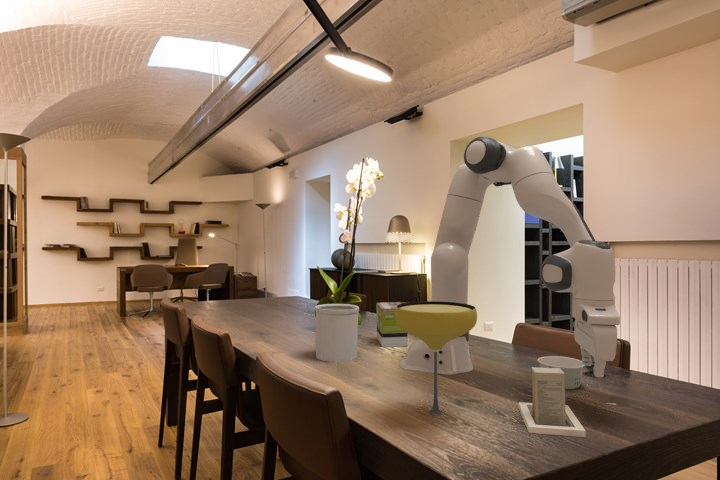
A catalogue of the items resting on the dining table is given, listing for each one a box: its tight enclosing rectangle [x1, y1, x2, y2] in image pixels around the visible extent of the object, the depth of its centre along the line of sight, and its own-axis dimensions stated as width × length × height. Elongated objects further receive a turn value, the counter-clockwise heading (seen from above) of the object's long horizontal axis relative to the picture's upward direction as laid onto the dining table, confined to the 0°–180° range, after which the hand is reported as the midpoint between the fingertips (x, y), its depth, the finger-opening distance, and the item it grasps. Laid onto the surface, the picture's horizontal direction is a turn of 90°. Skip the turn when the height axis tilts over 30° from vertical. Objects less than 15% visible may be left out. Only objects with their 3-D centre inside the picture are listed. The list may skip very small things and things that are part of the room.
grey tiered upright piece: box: [584, 355, 606, 378], centre depth 139 cm, size 6×6×12 cm
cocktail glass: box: [395, 300, 478, 415], centre depth 107 cm, size 18×18×25 cm
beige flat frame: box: [518, 401, 587, 438], centre depth 101 cm, size 11×14×2 cm
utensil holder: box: [314, 303, 360, 363], centre depth 159 cm, size 15×15×18 cm
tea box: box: [375, 301, 409, 348], centre depth 183 cm, size 15×10×15 cm
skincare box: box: [531, 366, 567, 427], centre depth 102 cm, size 6×4×12 cm
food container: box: [537, 355, 586, 390], centre depth 130 cm, size 12×12×6 cm
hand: (592, 370), depth 110 cm, fingers open, 8 cm apart
